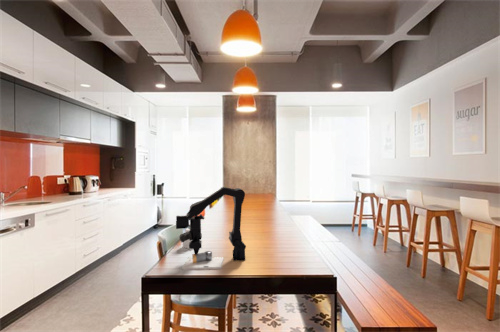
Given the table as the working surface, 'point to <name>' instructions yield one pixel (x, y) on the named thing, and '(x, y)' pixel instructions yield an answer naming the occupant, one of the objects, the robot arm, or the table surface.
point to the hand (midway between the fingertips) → (196, 255)
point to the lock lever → (202, 257)
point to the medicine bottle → (186, 243)
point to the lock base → (204, 264)
